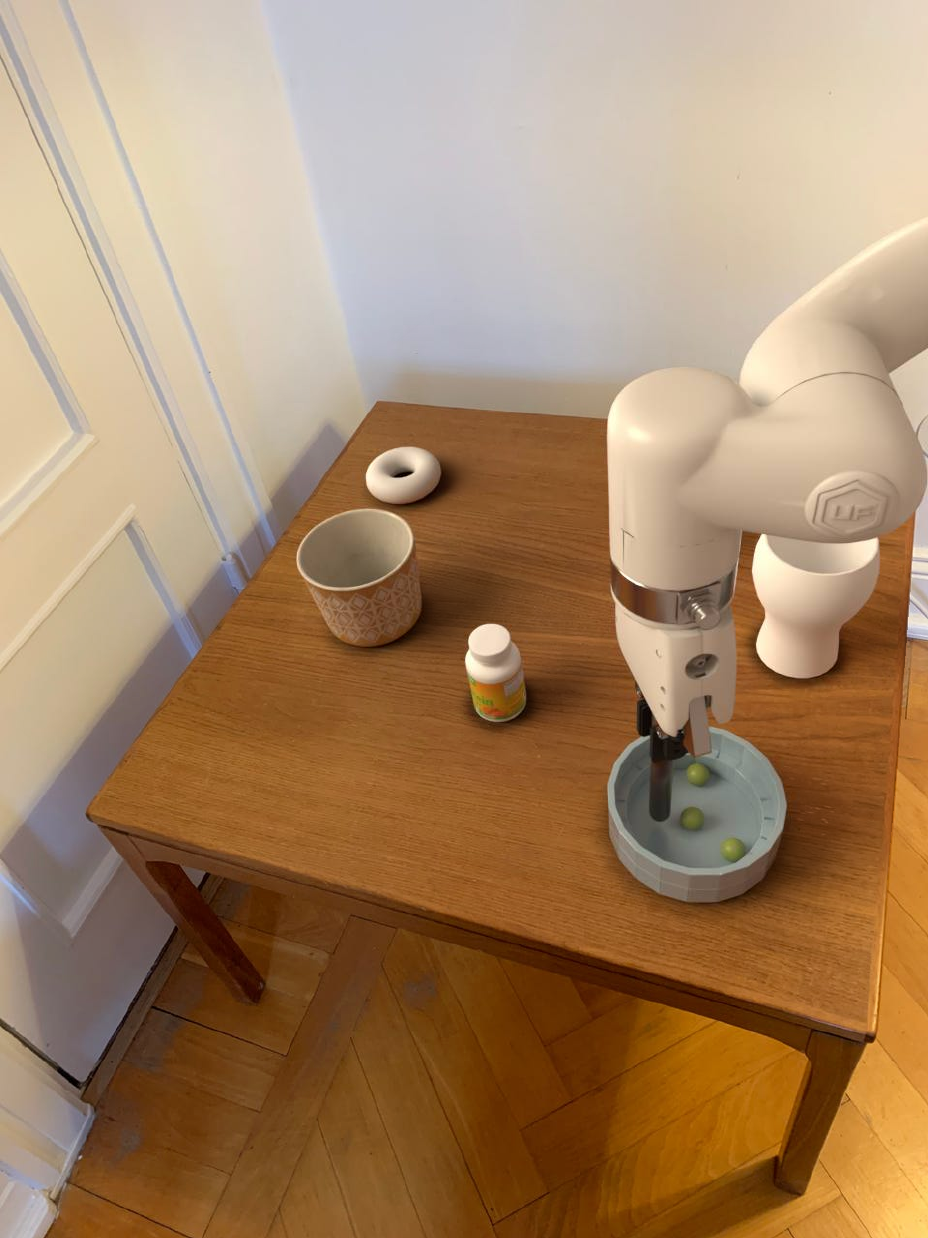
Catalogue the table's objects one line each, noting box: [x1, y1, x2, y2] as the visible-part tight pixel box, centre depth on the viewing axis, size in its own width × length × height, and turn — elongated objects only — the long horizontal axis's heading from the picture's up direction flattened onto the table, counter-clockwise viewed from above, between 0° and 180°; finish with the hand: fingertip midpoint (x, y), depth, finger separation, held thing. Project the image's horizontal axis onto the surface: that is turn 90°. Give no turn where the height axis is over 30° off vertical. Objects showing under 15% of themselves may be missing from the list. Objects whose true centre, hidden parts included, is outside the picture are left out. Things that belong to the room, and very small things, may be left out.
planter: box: [296, 508, 423, 648], centre depth 94 cm, size 13×13×10 cm
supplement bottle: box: [464, 623, 527, 723], centre depth 83 cm, size 5×5×10 cm
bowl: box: [606, 725, 788, 903], centre depth 73 cm, size 14×14×6 cm
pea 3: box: [721, 838, 746, 862], centre depth 71 cm, size 2×2×2 cm
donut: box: [365, 446, 442, 505], centre depth 112 cm, size 10×4×10 cm
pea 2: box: [680, 806, 704, 830], centre depth 74 cm, size 2×2×2 cm
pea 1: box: [686, 763, 709, 786], centre depth 76 cm, size 2×2×2 cm
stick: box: [649, 713, 674, 822], centre depth 68 cm, size 2×2×17 cm
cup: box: [751, 534, 881, 679], centre depth 81 cm, size 11×11×15 cm
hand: (664, 740), depth 65 cm, fingers closed on stick, 1 cm apart
